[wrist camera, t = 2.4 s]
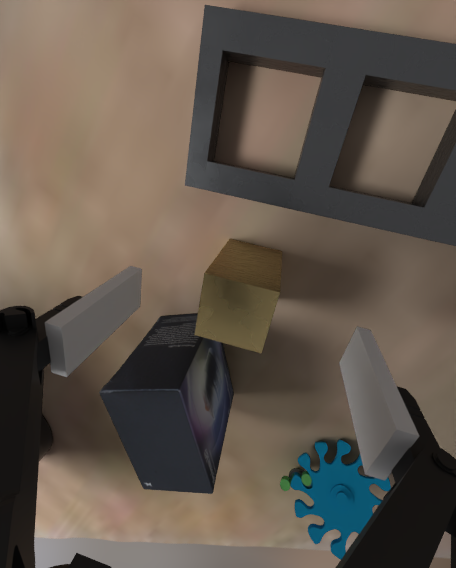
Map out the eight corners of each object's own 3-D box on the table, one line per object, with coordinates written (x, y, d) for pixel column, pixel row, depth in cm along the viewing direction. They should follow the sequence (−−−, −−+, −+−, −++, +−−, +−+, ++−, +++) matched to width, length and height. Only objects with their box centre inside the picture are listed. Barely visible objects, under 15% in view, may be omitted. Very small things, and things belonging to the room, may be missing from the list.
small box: (238, 394, 30) (216, 499, 21) (183, 394, 32) (140, 491, 22) (219, 310, 26) (181, 393, 17) (158, 314, 28) (92, 392, 19)
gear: (399, 456, 27) (400, 585, 24) (384, 446, 32) (383, 551, 29) (286, 427, 31) (273, 537, 27) (289, 422, 36) (278, 514, 33)
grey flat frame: (193, 183, 22) (184, 185, 20) (213, 20, 18) (204, 4, 16) (542, 261, 19) (568, 271, 18) (666, 94, 15) (717, 85, 13)
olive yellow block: (220, 285, 25) (194, 334, 18) (229, 238, 23) (204, 273, 16) (268, 297, 25) (261, 353, 18) (282, 251, 23) (280, 292, 16)
